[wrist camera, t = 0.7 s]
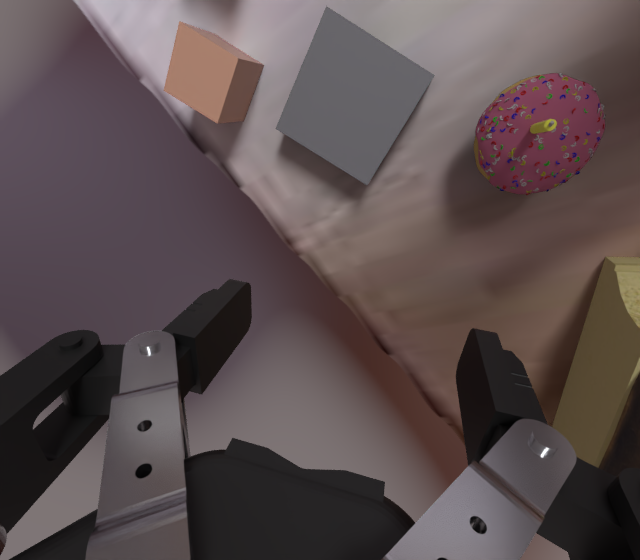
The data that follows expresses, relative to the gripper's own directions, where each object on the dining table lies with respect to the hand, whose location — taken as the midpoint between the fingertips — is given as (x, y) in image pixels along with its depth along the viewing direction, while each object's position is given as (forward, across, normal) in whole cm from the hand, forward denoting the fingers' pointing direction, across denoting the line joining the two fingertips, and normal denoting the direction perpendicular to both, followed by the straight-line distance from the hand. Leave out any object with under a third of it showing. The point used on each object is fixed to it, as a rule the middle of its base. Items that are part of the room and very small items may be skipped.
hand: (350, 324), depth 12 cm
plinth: (+25, +5, -7) cm, 27 cm away
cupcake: (+26, -10, -6) cm, 28 cm away
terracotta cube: (+25, +17, -8) cm, 32 cm away
